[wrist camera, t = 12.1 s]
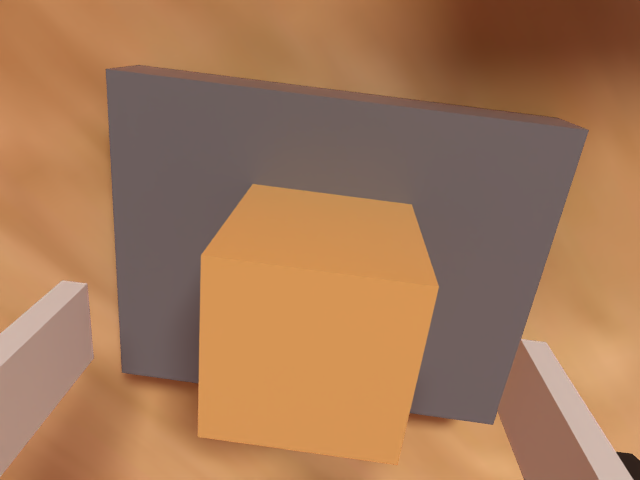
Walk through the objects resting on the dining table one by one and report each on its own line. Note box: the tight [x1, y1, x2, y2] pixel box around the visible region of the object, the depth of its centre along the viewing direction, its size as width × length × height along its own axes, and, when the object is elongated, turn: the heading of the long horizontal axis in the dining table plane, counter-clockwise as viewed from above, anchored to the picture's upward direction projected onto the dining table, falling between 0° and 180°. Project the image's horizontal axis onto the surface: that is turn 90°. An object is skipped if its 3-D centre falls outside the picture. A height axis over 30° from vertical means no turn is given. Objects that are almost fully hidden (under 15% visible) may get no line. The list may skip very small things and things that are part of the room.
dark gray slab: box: [106, 65, 589, 425], centre depth 22 cm, size 18×14×3 cm
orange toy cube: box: [198, 184, 439, 465], centre depth 17 cm, size 6×6×7 cm
